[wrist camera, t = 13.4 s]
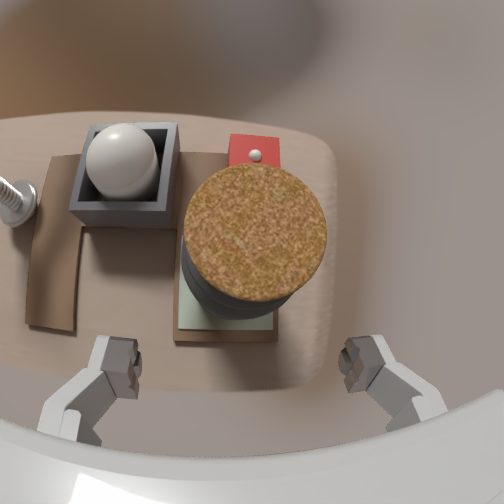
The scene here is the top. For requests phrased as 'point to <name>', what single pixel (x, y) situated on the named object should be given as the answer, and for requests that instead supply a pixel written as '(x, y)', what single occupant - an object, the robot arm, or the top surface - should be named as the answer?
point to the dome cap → (123, 164)
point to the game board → (71, 228)
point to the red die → (253, 150)
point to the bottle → (251, 240)
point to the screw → (17, 202)
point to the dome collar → (128, 211)
